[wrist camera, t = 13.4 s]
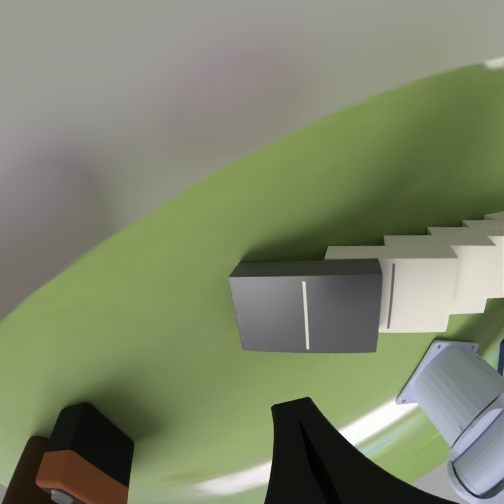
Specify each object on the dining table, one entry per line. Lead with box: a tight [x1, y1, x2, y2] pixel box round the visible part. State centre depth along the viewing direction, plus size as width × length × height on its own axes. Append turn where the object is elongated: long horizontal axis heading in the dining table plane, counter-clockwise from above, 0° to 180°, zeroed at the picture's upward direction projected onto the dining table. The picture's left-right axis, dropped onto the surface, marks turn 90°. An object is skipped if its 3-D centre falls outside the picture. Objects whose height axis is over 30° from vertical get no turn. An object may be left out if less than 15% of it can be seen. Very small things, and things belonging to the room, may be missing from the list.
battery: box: [36, 403, 134, 504], centre depth 16 cm, size 4×7×10 cm, turn 25°
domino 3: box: [384, 235, 497, 314], centre depth 17 cm, size 2×5×8 cm
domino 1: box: [228, 258, 383, 353], centre depth 16 cm, size 2×5×8 cm
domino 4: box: [462, 220, 504, 228], centre depth 18 cm, size 2×5×8 cm
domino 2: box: [324, 246, 459, 332], centre depth 16 cm, size 2×5×8 cm
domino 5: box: [427, 227, 504, 298], centre depth 17 cm, size 2×5×8 cm
